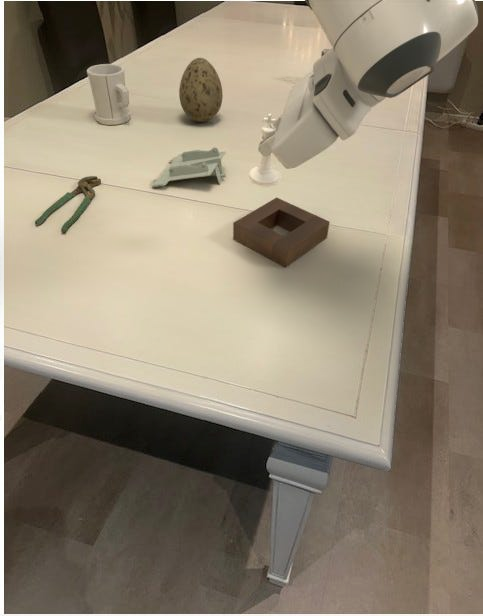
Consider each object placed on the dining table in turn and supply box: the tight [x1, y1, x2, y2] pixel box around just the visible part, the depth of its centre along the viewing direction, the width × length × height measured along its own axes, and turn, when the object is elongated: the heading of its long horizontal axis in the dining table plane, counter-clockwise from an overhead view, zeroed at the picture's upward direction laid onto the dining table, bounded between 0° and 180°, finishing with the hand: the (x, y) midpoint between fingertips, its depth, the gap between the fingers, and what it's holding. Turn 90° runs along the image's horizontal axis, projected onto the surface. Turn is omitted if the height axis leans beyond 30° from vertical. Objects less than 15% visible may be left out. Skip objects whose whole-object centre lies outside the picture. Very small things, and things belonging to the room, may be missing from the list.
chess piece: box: [248, 113, 282, 188], centre depth 70 cm, size 5×5×10 cm
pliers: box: [34, 175, 102, 234], centre depth 93 cm, size 20×7×1 cm, turn 165°
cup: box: [86, 63, 131, 126], centre depth 120 cm, size 10×9×12 cm
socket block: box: [232, 196, 330, 268], centre depth 85 cm, size 12×12×4 cm
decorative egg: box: [178, 57, 224, 123], centre depth 120 cm, size 11×11×15 cm
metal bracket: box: [151, 146, 227, 188], centre depth 102 cm, size 14×6×15 cm
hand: (263, 145), depth 70 cm, fingers closed on chess piece
